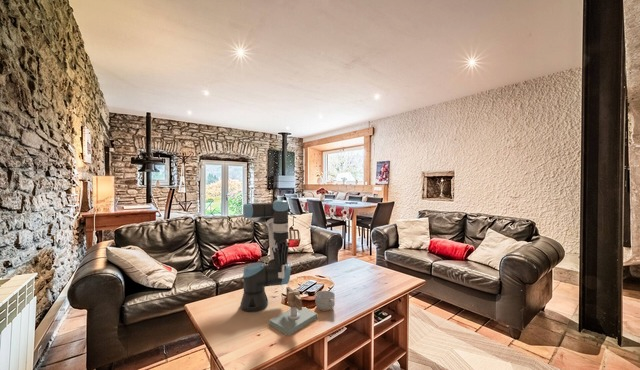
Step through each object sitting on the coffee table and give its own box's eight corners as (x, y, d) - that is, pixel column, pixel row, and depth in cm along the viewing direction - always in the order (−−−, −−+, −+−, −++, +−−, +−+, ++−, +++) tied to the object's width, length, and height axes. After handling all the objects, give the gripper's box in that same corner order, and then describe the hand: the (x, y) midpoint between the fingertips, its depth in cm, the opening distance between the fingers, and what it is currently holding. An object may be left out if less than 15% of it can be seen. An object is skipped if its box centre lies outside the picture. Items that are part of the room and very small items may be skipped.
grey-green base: (269, 324, 129) (269, 307, 129) (298, 309, 144) (298, 294, 144) (288, 335, 120) (288, 317, 120) (317, 318, 135) (317, 301, 135)
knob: (293, 296, 141) (292, 284, 141) (306, 310, 126) (306, 297, 126) (282, 298, 138) (282, 286, 138) (294, 313, 123) (294, 300, 123)
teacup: (312, 305, 149) (312, 291, 149) (330, 302, 153) (330, 288, 153) (321, 317, 136) (321, 302, 136) (340, 313, 140) (340, 298, 140)
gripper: (280, 234, 124) (280, 283, 125) (293, 229, 136) (294, 274, 137) (266, 233, 127) (267, 281, 128) (281, 228, 139) (282, 272, 140)
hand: (281, 277), depth 133 cm, fingers closed
